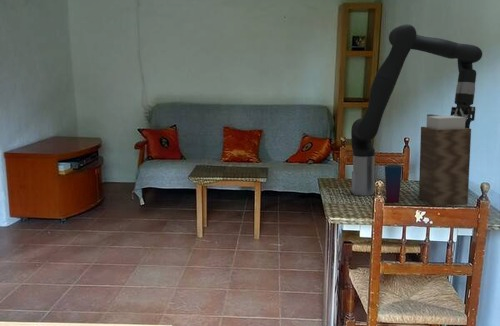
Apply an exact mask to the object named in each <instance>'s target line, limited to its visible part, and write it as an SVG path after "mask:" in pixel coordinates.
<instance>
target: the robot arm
mask: <svg viewBox="0 0 500 326" xmlns="http://www.w3.org/2000/svg"><path fill="white" fill-rule="evenodd" d="M388 40H389V41H388V42H389V44H390V45H391V48H390V51H389V54H388V55H387V57H386V58H385V60H384V61H383V62H382V64H381V66H380V67H379V68H378V69H377V72H376V74H375V76H374V78H373V81H372V83H371V86H370V90H369V99H368V106H367V108H366V110H365V113H364V115H363V117H362V118H358V119H356V120H355V121H353V123H352V124H351V129H350V130H351V133H350V134H351V149H352V170H351V193H352V194H353V195H354V196H361V197H362V196H363V197H364V196H365V197H366V196H372V195H375V158H376V157H375V155H376V154H375V153H376V151H375V148H374V146H373V139H374V138H375V137H376V136H377V134H378V132H379V128H380V125H381V122H382V118H383V114H384V112H385V110H386V107H387V105H388V103H389V101H390V98H391V95H392V94H393V91H394V90H395V86H396V84H397V82H398V79H399V77H400V74H401V73H402V72H401V71H402V70H403V69H402V68H403V66H404V63H405V61H406V59H407V57H408V55H409V53H410V51H411V50H413V51H420V52H424V53H428V54H431V55H434V56H435V55H436V56H438V57H442V58H446V59H450V60H454V59H457V69H458V76H457V77H458V78H457V84H456V89H455V95H454V104H455V105H456V106H451V110H450V115H449V116H459V117H465V128H470V127H471V126H470V125H471V123H472V122H473V121H474V122H475V116H476V106H472V105H474V101H475V93H476V81H477V80H476V78H477V71H476V70H475V69H474V68H473V64H474V63H477V62H479V61H480V60H481V59H482V57H483V51H482V49H481V48H480V47H479V46H477V45H475V44H474V45H473V44H468V43H467V44H466V43H458V42H455V41H452V40H448V39H444V38H438V37H429V36H424V35H420V34H417V31H416V28H415V26H413V25H412V24H402V25H398V26H396V27H395V28H393V29H391V31H390V32H389V34H388ZM470 129H471V128H470Z"/></svg>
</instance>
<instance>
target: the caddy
mask: <svg viewBox="0 0 500 326" xmlns="http://www.w3.org/2000/svg"><path fill="white" fill-rule="evenodd" d="M426 127H427V128H432V129H436V130H447V129H465V117H459V116H450V115H438V114H431V113H430V114H429V113H428V114H427V115H426Z"/></svg>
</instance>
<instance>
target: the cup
mask: <svg viewBox="0 0 500 326" xmlns="http://www.w3.org/2000/svg"><path fill="white" fill-rule="evenodd" d="M402 171H403V165H401V164H395V163H394V164H393V163H392V164H391V163H390V164H389V163H388V164H385V165H384V176H385V177H384V178H385V179H384V183H385V201H386V203H391V204H394V203H399V202H400V194H401V193H400V191H401V184H402V183H401V181H402Z"/></svg>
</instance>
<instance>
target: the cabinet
mask: <svg viewBox="0 0 500 326" xmlns="http://www.w3.org/2000/svg"><path fill="white" fill-rule="evenodd" d="M471 139H472V128H465V129H447V130H436V129H432V128H427V126H420V149H419V175H418V176H419V179H418V180H419V181H418V182H419V183H418V184H419V185H418V198H420V199H421V200H423V201H425V203H428V204H429V205H431V206H433V205H435V206H452V205H453V206H457V205H468V202H469V182H470V181H469V180H470V179H469V178H470V166H471V165H470V161H471V143H472V142H471Z"/></svg>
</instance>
